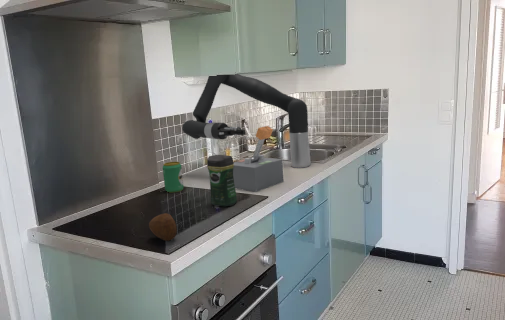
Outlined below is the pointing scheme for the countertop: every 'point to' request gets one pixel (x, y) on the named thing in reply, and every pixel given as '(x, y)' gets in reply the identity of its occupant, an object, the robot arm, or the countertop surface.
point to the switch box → (257, 173)
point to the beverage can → (173, 177)
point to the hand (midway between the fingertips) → (244, 132)
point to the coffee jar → (221, 180)
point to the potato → (163, 227)
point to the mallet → (261, 141)
